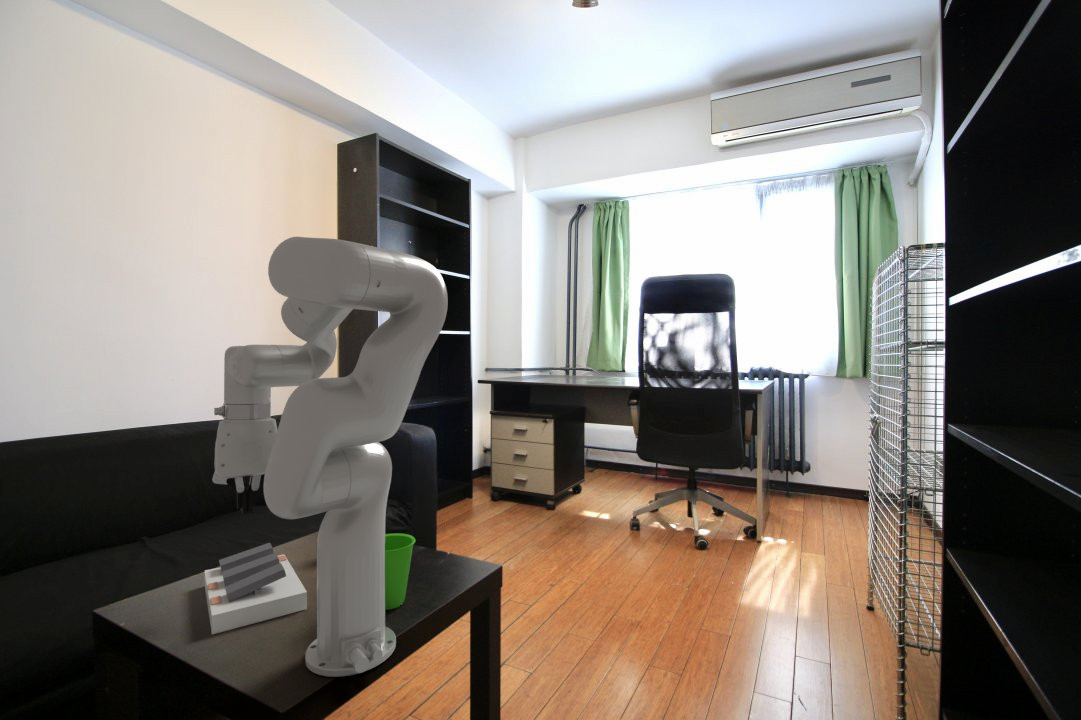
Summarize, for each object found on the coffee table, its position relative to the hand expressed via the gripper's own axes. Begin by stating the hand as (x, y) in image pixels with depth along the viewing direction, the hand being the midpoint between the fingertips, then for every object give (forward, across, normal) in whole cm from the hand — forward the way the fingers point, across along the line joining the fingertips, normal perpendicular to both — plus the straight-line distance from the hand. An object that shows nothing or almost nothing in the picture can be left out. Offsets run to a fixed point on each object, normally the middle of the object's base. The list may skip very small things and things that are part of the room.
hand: (246, 511), depth 94 cm
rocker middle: (+12, +1, 0) cm, 12 cm away
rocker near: (+12, +1, -7) cm, 13 cm away
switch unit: (+16, +1, -1) cm, 16 cm away
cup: (+15, +20, -19) cm, 32 cm away
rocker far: (+12, +1, +7) cm, 14 cm away
